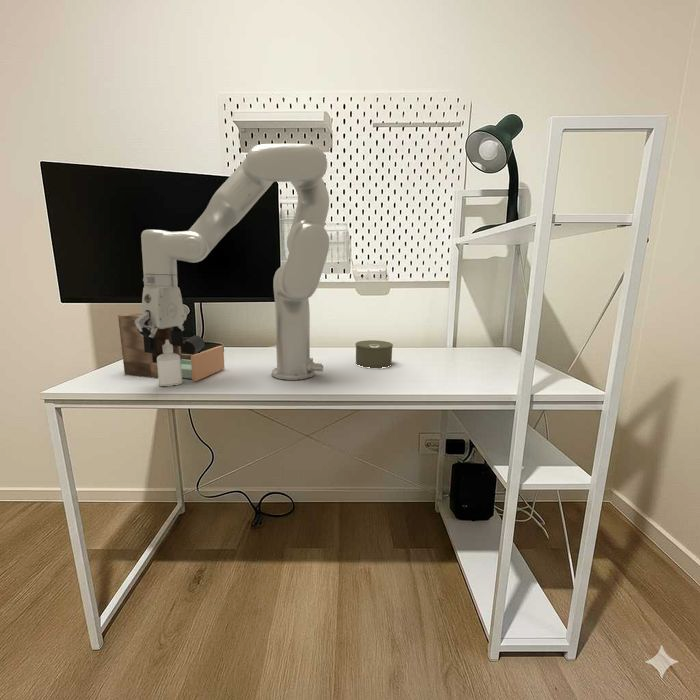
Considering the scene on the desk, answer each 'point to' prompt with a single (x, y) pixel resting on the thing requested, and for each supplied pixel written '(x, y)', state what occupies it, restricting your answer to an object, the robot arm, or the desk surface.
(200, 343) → the end cap
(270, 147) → the robot arm
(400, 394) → the desk surface
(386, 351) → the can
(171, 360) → the eye dropper bottle
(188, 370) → the drawer
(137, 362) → the cabinet
